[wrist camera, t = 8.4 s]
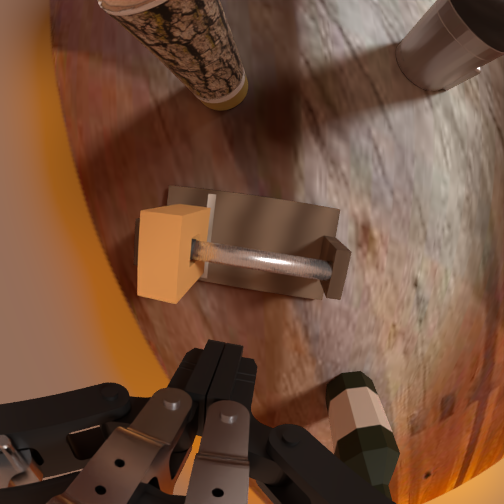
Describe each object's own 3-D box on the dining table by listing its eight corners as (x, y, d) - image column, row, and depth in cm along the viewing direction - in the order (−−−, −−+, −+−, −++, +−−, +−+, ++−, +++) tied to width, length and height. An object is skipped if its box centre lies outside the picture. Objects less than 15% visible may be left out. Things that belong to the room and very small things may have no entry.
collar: (210, 207, 33) (182, 215, 23) (203, 272, 35) (176, 304, 25) (178, 203, 33) (140, 210, 23) (173, 267, 35) (137, 295, 25)
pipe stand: (337, 209, 35) (358, 216, 25) (320, 296, 38) (332, 330, 28) (173, 185, 37) (138, 185, 27) (165, 270, 39) (133, 294, 30)
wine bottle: (338, 365, 40) (378, 542, 11) (381, 375, 40) (440, 528, 11) (316, 402, 42) (329, 563, 13) (357, 410, 42) (390, 555, 13)
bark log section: (229, 121, 34) (146, 21, 10) (189, 97, 34) (79, 5, 10) (259, 82, 33) (225, -51, 8) (218, 60, 32) (147, -60, 8)
